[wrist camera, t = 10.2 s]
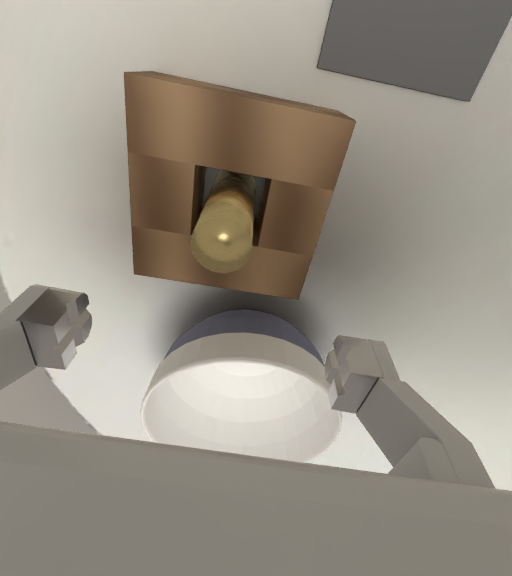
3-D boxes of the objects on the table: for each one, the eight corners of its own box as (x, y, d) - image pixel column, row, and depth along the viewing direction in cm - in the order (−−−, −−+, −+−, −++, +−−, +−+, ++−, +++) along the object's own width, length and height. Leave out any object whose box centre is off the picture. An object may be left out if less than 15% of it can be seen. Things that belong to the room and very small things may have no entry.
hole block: (337, 110, 21) (356, 121, 17) (293, 265, 27) (298, 299, 23) (152, 71, 20) (123, 72, 16) (153, 242, 26) (133, 274, 22)
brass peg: (258, 168, 23) (257, 224, 15) (251, 207, 25) (246, 277, 16) (217, 160, 23) (192, 212, 14) (213, 201, 24) (188, 268, 16)
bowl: (273, 249, 27) (278, 324, 19) (347, 360, 34) (372, 447, 26) (136, 323, 32) (95, 407, 24) (227, 405, 39) (219, 490, 31)
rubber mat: (555, -81, 16) (560, -84, 16) (466, 101, 20) (469, 101, 20) (365, -136, 15) (367, -140, 15) (316, 67, 19) (317, 67, 19)
